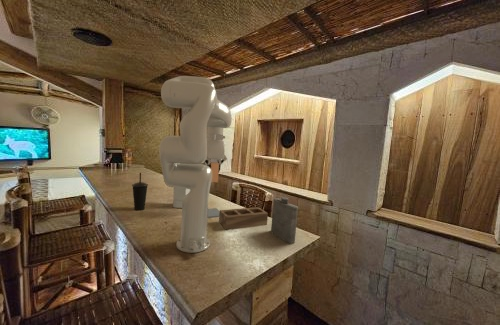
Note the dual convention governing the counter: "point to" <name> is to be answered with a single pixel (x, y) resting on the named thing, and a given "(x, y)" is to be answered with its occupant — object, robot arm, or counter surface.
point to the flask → (284, 219)
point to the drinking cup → (139, 195)
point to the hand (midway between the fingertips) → (213, 171)
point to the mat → (213, 213)
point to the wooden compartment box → (242, 218)
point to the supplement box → (179, 196)
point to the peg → (214, 171)
